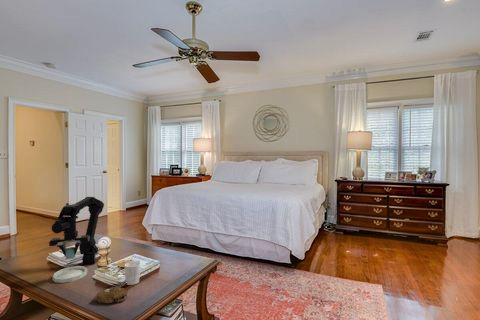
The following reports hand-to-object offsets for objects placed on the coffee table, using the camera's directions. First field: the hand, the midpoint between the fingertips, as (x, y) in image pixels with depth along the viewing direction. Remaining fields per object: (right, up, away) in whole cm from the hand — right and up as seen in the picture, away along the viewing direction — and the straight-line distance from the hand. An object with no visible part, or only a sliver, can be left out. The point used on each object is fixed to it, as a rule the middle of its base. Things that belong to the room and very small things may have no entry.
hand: (70, 255), depth 147 cm
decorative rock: (+35, -13, -22) cm, 43 cm away
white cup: (+38, -12, -6) cm, 40 cm away
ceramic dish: (0, -12, 0) cm, 12 cm away
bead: (0, -1, 0) cm, 1 cm away
